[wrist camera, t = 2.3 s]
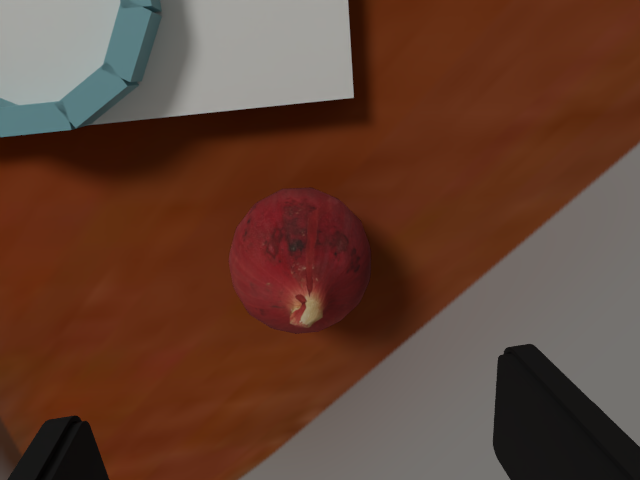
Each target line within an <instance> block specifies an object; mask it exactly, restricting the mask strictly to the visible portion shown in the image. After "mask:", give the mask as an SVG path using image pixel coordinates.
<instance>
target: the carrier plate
mask: <svg viewBox="0 0 640 480" xmlns="http://www.w3.org/2000/svg"><path fill="white" fill-rule="evenodd" d="M347 98H354V91H353V75H352V58H351V41H350V24H349V8H348V0H0V137H8V136H17V135H27V134H37V133H46V132H56V131H66V130H73V129H76V128H80V127H83V126H87V125H95V124H105V123H115V122H124V121H134V120H144V119H153V118H163V117H173V116H182V115H192V114H202V113H212V112H221V111H231V110H241V109H250V108H260V107H270V106H279V105H289V104H299V103H308V102H318V101H328V100H337V99H347Z"/></svg>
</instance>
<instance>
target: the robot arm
mask: <svg viewBox="0 0 640 480" xmlns="http://www.w3.org/2000/svg"><path fill="white" fill-rule="evenodd" d="M493 446H494V450H495V454H496V456H497V458H498V460H499V462H500V463H501V465H502V467H503V468H504V470H505V471H506V473H507V475H508V476H509V478H510V479H511V480H640V447H639V446H638V445H637V444H636V443H635V442H634V441H633V440H632V439H631V438H630V437H629V436H628V435H627V434H626V433H624V432H623V431H622V430H621V429H620V428H619V427H618V426H617V425H616V424H615V423H614V422H613V421H612V420H611V419H610V418H609V417H608V416H607V415H606V414H605V413H604V412H603V411H602V410H601V409H600V408H599V407H598V406H597V405H596V404H595V403H593V402H592V401H591V400H590V399H589V398H588V397H587V396H586V395H585V394H584V393H583V392H582V391H581V390H580V389H579V388H578V387H577V386H576V385H575V384H573V383H572V382H571V381H570V380H569V379H568V378H567V377H566V376H565V375H564V374H563V373H562V372H561V371H560V370H559V369H558V368H557V367H556V366H555V365H554V364H553V363H552V362H551V361H550V360H549V359H548V358H547V357H546V356H545V355H544V354H543V353H542V352H541V351H540V350H538V349H537V348H536V347H535V346H534V345H532V344H526V345H520V346H513V347H508V348H506V349H505V351H504V354H503V355H500V356H499V357H498V366H497V382H496V399H495V415H494V433H493ZM8 480H109V478H108V475H107V472H106V469H105V467H104V464H103V461H102V458H101V455H100V453H99V450H98V447H97V444H96V441H95V438H94V436H93V433H92V430H91V427H90V425H89V423H88V422H87V421H81V419H80V418H79V417H78V416H69V417H63V418H57V419H50V420H48V421H46V422H45V423H44V424H43V425H42V427H41V428H40V430H39V431H38V433H37V434H36V436H35V438H34V439H33V441H32V442H31V444H30V445H29V447H28V448H27V450H26V452H25V453H24V455H23V456H22V458H21V459H20V461H19V463H18V464H17V466H16V467H15V469H14V471H13V472H12V473H11V475H10V477H9V478H8Z"/></svg>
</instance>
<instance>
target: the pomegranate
mask: <svg viewBox="0 0 640 480" xmlns="http://www.w3.org/2000/svg"><path fill="white" fill-rule="evenodd" d="M229 266H230V271H231V277H232V282H233V287H234V289H235V291H236V293H237V294H238V296H239V298H240V299H241V301H242V303H243V305H244V306H245V308H246V310H247V311H248V313H249V314H250V315H251V316H253V317H255V318H256V319H258V320H259V321H261V322H263V323H264V324H266V325H267V326H269V327H271V328H273V329H277V330H281V331H286V332H291V333H295V334H297V333H309V332H318V331H320V330H323V329H325V328H327V327H329V326H331V325H333V324H335V323H337V322H339V321H341V320H342V319H343V318H344V317H345V316H346V315H347V314H348V313H349V312H350V311H352V310H353V309H354V308H355V307H356V306H357V305H358V304H359V303H360V301H361V299H362V296H363V294H364V292H365V290H366V288H367V285H368V283H369V281H370V275H371V249H370V245H369V242H368V239H367V237H366V234H365V231H364V228H363V225H362V223H361V221H360V220H359V219H358V218H357V217H356V216H355V215H354V214H353V213H352V212H351V211H350V210H349V209H348V208H347V207H346V206H345V205H344V204H343V203H342V202H341V201H340V200H339V199H337V198H335V197H332V196H330V195H328V194H325V193H323V192H321V191H318V190H316V189H314V188H293V189H281V190H279V191H278V192H276V193H274V194H272V195H270V196H268V197H266V198H264V199H262V200H261V201H259V202H257V203H256V204H255V205H254V206H253V207H252V208H251V209H250V211H249V212H248V213H247V215H246V216H245V217H244V219H243V220H242V221H241V222H240V224H239V225H238V226H237V228H236V231H235V235H234V238H233V242H232V246H231V250H230V254H229Z"/></svg>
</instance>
